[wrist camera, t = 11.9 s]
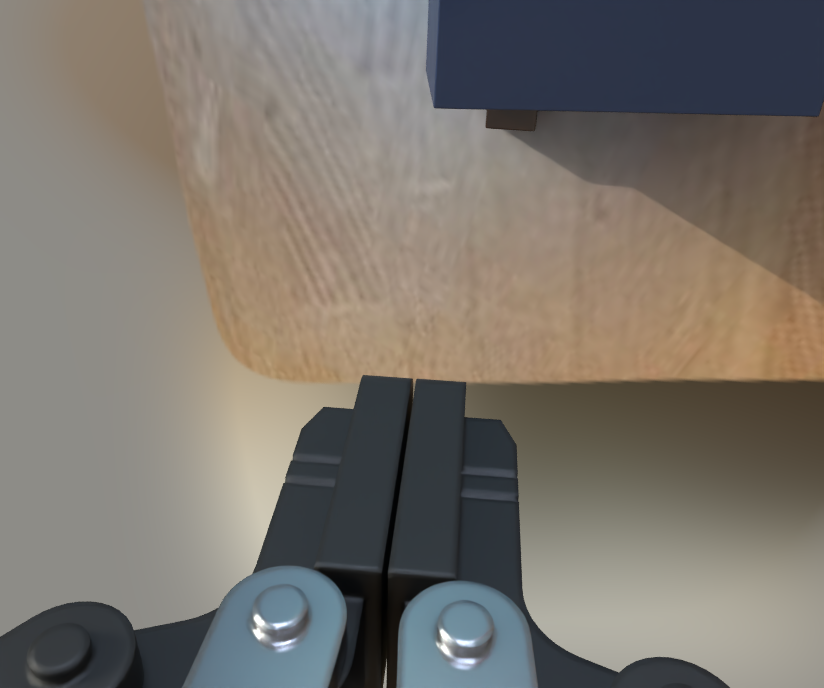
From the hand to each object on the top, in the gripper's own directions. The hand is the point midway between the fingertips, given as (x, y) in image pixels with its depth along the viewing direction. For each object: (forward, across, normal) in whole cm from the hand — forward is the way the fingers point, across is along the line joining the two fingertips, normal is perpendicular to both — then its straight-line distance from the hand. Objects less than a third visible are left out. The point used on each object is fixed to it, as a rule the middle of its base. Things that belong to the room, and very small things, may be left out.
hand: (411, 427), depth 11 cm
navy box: (+19, +1, -3) cm, 19 cm away
